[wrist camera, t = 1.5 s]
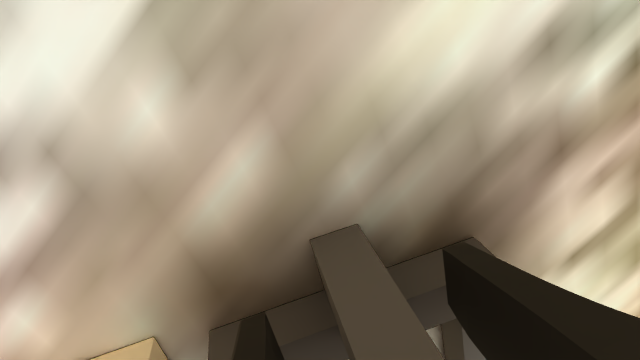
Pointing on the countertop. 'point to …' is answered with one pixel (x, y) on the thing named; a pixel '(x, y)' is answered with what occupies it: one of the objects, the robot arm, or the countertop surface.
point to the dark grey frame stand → (364, 309)
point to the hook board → (136, 352)
